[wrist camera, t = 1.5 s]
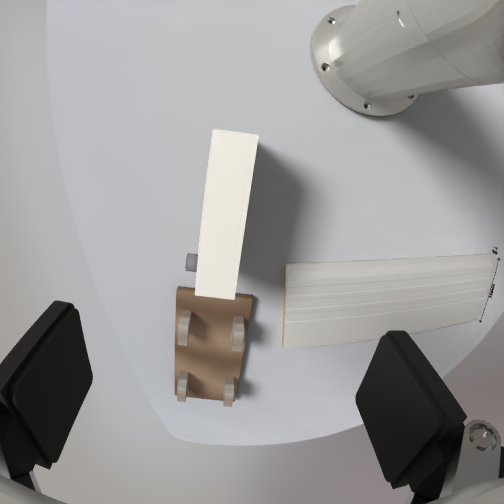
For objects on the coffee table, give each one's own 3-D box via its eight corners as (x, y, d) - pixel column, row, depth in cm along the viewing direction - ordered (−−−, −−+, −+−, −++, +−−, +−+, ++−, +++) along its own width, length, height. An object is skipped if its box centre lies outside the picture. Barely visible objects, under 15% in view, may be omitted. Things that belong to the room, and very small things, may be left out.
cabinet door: (208, 132, 27) (198, 127, 19) (251, 138, 27) (258, 135, 19) (194, 252, 31) (181, 293, 22) (233, 257, 31) (234, 299, 23)
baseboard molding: (284, 248, 32) (281, 341, 36) (289, 258, 29) (284, 356, 33) (491, 242, 34) (472, 314, 38) (504, 249, 31) (482, 324, 35)
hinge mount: (178, 286, 32) (171, 304, 28) (252, 294, 33) (254, 314, 29) (175, 390, 37) (172, 411, 34) (234, 396, 38) (235, 417, 34)
